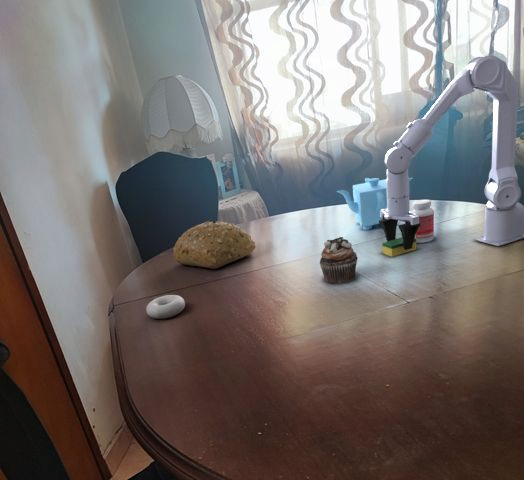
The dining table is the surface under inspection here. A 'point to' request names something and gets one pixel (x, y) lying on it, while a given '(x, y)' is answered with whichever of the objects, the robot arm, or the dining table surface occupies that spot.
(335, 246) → the cupcake
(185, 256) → the bread
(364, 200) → the teakettle
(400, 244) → the sponge
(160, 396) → the dining table surface
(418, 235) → the pill bottle
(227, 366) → the dining table surface
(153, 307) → the donut
